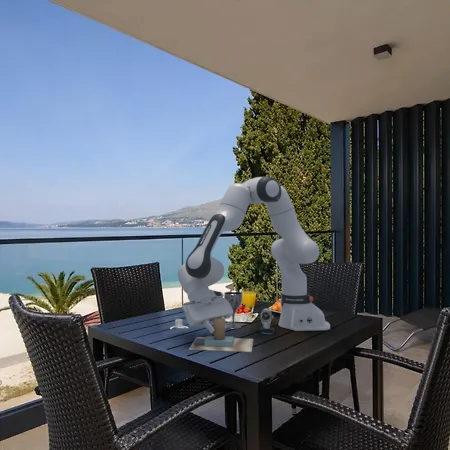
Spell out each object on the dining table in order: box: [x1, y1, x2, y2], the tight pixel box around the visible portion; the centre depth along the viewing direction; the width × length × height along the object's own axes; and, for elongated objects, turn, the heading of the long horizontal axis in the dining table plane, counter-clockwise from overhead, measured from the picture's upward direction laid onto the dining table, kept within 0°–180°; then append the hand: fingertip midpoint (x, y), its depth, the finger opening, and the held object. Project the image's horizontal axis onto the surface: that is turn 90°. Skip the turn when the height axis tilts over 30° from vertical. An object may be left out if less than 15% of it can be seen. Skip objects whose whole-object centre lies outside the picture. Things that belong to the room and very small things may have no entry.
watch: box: [259, 308, 275, 335], centre depth 154 cm, size 6×8×11 cm
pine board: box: [188, 336, 254, 353], centre depth 139 cm, size 22×15×2 cm
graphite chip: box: [193, 337, 205, 346], centre depth 140 cm, size 4×5×1 cm
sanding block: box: [204, 318, 235, 347], centre depth 139 cm, size 10×6×9 cm, turn 83°
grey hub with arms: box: [169, 318, 189, 330], centre depth 166 cm, size 9×8×4 cm
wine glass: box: [223, 290, 243, 330], centre depth 169 cm, size 8×8×15 cm
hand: (219, 330), depth 139 cm, fingers closed on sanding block, 4 cm apart
